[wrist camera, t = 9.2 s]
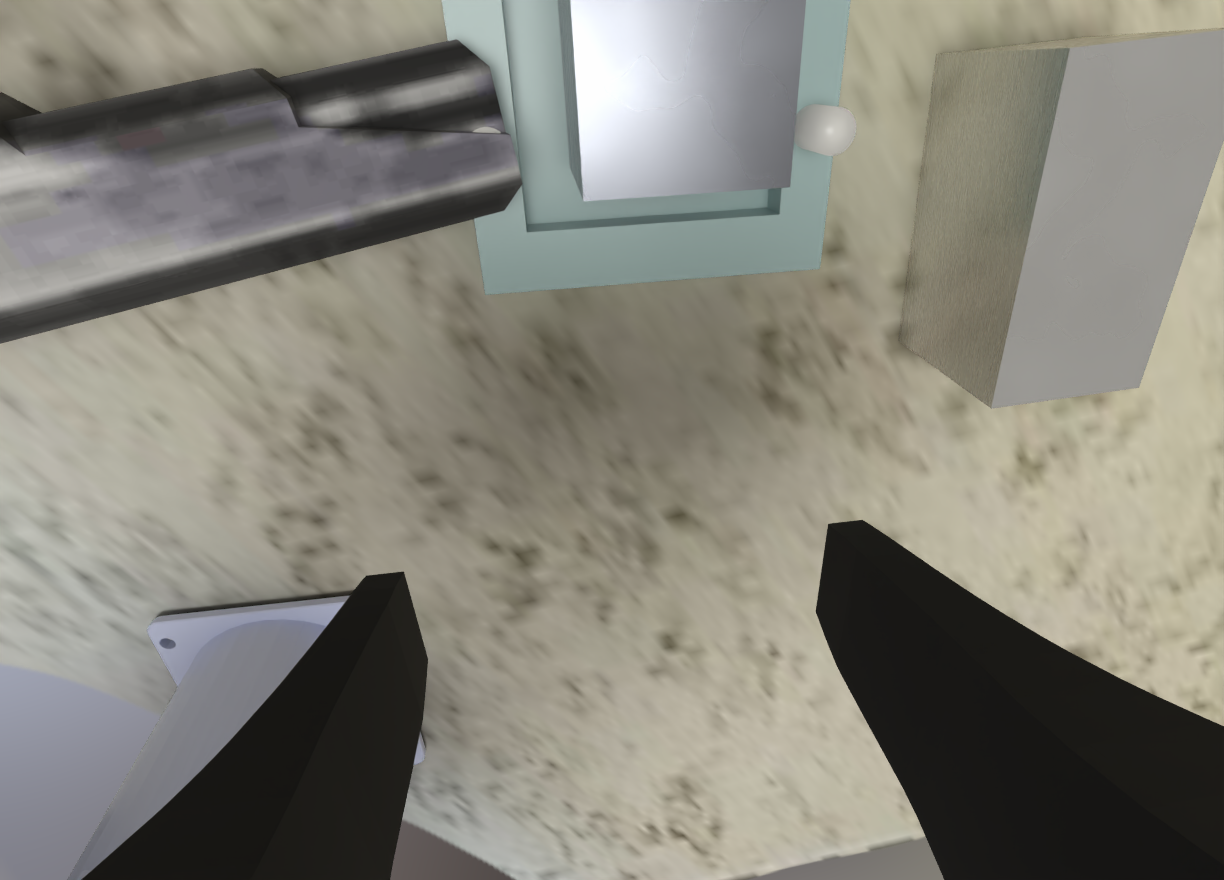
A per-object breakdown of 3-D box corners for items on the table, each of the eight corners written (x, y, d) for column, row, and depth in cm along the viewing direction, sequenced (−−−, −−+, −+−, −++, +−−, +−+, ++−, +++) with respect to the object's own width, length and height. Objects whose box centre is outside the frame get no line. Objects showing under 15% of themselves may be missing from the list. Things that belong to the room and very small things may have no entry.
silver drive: (1014, 323, 21) (1138, 387, 17) (896, 339, 21) (991, 408, 17) (1079, 36, 17) (1262, 24, 13) (933, 54, 17) (1069, 48, 13)
